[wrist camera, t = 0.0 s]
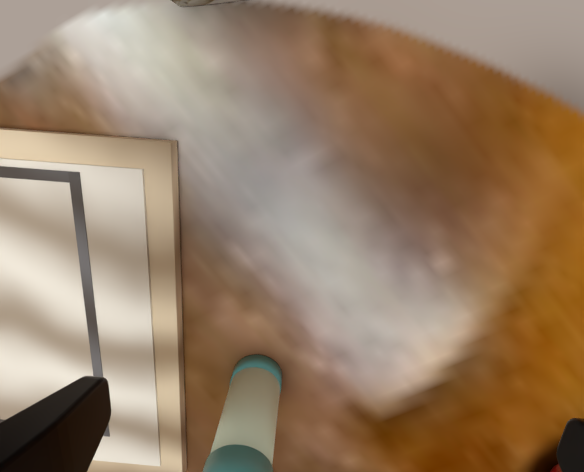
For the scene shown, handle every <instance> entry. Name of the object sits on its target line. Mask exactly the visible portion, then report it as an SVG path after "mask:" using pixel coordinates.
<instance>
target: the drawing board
mask: <svg viewBox="0 0 584 472" xmlns="http://www.w3.org/2000/svg"><path fill="white" fill-rule="evenodd" d="M84 376H98V377H104V378H106V379H107V381H108V384H109V393H110V402H111V417H110V421H109V424H108V426H107V428H106V431H105V433H104V435H103V437H102V440H101V442H100V444H99V446H98V449H97V451H96V453H95V455H94V457H93V460H92V462H91V464H90V466H89V469H88V471H87V472H186V470H187V453H186V420H185V387H184V353H183V320H182V287H181V253H180V220H179V187H178V153H177V141H174V140H160V139H147V138H133V137H120V136H106V135H93V134H79V133H65V132H52V131H38V130H25V129H11V128H0V422H2V421H4V420H6V419H8V418H9V417H11V416H13V415H15V414H17V413H18V412H20V411H22V410H24V409H26V408H27V407H29V406H31V405H33V404H35V403H36V402H38V401H40V400H42V399H43V398H45V397H47V396H49V395H51V394H52V393H54V392H56V391H58V390H60V389H61V388H63V387H65V386H67V385H69V384H70V383H72V382H74V381H76V380H78V379H79V378H81V377H84Z"/></svg>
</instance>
